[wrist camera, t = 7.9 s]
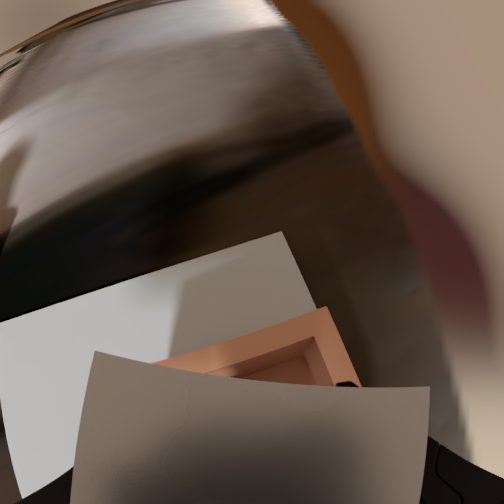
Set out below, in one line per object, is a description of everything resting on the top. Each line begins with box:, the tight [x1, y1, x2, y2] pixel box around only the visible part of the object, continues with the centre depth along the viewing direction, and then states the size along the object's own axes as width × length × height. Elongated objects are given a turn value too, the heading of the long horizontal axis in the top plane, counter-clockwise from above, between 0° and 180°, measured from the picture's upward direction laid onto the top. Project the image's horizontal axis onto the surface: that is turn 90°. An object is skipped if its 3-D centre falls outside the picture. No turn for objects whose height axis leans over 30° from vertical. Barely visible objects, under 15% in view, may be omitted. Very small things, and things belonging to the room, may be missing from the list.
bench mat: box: [0, 231, 317, 499], centre depth 15 cm, size 18×22×1 cm
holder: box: [151, 306, 361, 387], centre depth 13 cm, size 8×8×4 cm
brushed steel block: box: [70, 351, 430, 504], centre depth 7 cm, size 4×4×12 cm
